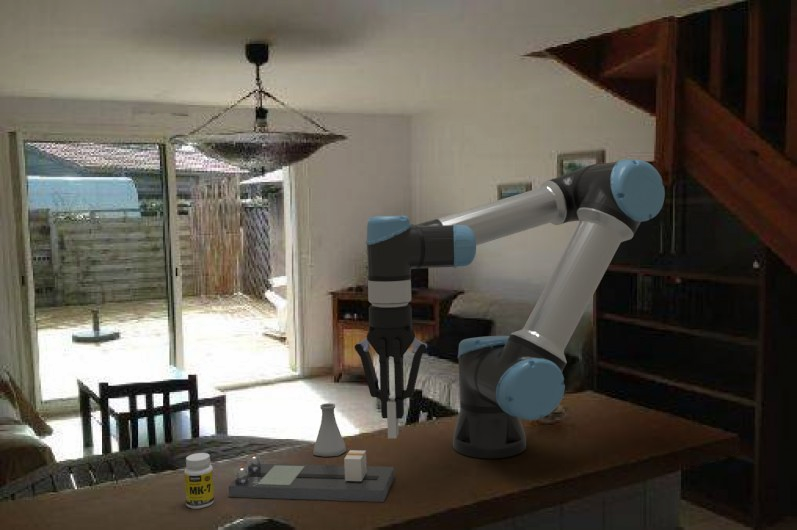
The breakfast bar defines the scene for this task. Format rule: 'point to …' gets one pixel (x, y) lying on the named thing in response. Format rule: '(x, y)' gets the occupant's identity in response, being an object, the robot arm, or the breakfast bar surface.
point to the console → (308, 482)
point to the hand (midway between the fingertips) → (393, 435)
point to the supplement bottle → (199, 481)
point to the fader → (355, 465)
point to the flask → (329, 434)
